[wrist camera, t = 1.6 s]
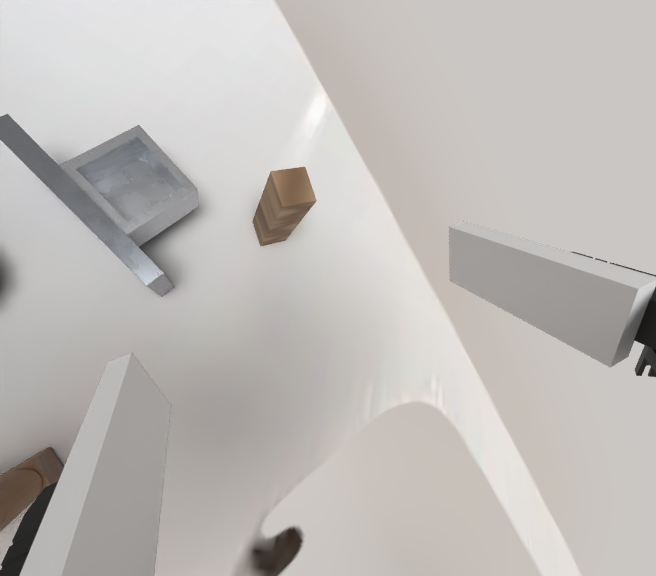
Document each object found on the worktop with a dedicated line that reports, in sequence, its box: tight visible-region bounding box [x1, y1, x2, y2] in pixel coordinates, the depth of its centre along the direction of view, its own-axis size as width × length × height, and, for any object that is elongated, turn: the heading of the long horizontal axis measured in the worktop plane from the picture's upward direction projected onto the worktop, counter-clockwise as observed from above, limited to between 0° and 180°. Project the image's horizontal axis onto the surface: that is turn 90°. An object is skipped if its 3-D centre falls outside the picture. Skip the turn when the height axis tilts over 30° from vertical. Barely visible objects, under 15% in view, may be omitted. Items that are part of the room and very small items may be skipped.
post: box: [253, 167, 316, 246], centre depth 39 cm, size 4×4×15 cm
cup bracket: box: [0, 114, 199, 297], centre depth 35 cm, size 20×11×10 cm, turn 44°
